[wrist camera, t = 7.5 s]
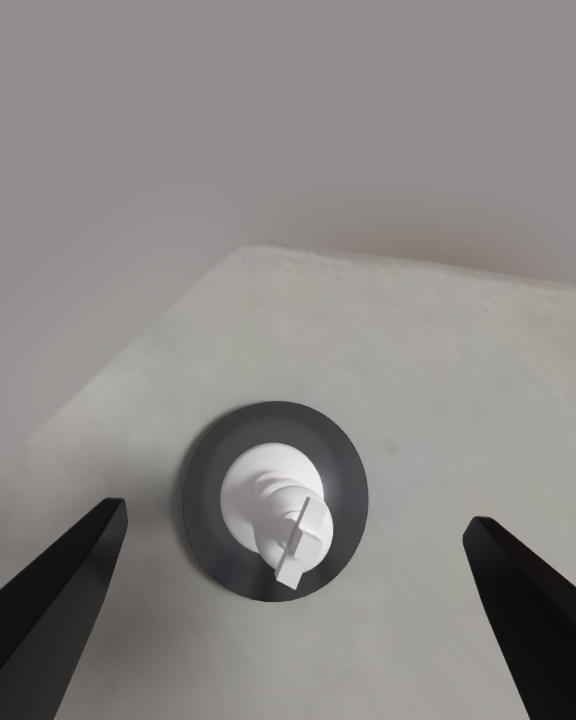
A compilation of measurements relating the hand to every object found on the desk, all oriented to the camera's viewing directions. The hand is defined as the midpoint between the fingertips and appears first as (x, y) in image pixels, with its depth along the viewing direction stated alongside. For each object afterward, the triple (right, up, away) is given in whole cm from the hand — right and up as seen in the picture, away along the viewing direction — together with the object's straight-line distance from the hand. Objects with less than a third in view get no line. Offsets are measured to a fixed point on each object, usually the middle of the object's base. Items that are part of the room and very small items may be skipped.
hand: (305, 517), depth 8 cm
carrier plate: (-1, -3, +8) cm, 8 cm away
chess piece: (-1, -3, +8) cm, 8 cm away
